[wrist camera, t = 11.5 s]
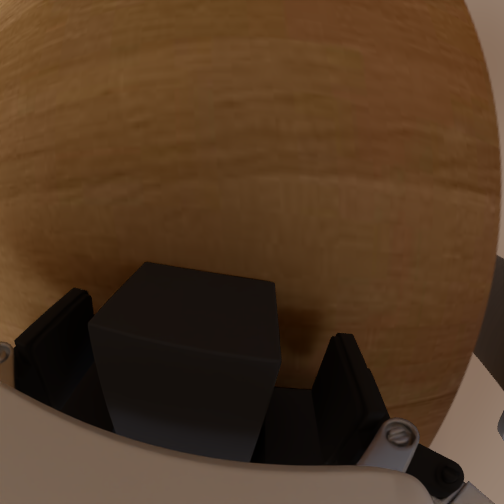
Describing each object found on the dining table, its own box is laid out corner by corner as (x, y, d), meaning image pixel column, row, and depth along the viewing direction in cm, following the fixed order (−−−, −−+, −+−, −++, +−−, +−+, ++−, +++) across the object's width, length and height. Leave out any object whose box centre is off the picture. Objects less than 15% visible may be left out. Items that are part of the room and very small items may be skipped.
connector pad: (275, 281, 11) (282, 361, 6) (239, 443, 14) (233, 506, 10) (145, 260, 11) (85, 322, 6) (157, 428, 14) (137, 487, 10)
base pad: (363, 390, 12) (386, 460, 8) (295, 493, 17) (297, 535, 13) (60, 338, 12) (15, 391, 8) (107, 461, 17) (92, 499, 13)
